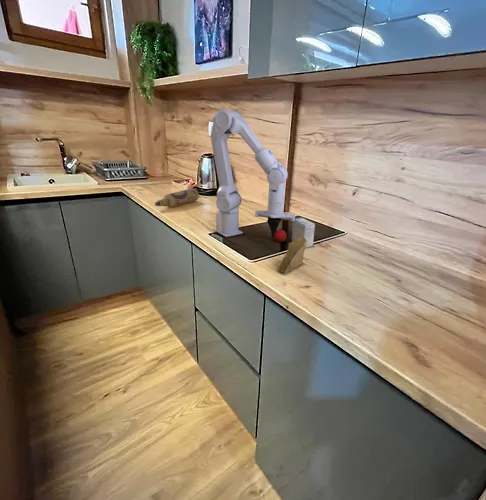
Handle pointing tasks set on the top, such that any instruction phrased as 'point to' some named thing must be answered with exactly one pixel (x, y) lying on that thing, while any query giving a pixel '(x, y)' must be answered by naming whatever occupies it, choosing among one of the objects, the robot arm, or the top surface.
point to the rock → (293, 255)
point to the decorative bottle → (178, 198)
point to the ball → (280, 236)
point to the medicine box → (303, 230)
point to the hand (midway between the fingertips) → (273, 236)
